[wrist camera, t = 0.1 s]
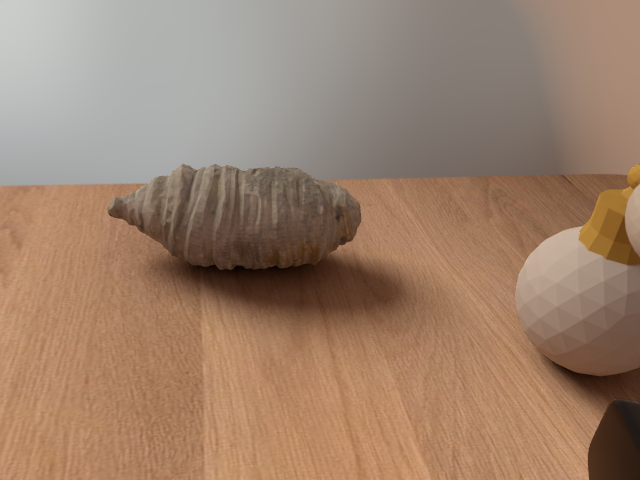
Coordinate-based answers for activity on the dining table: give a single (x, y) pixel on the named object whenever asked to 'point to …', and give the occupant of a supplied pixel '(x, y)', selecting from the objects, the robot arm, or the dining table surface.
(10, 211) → the dining table surface
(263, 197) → the taro root
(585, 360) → the perfume bottle
